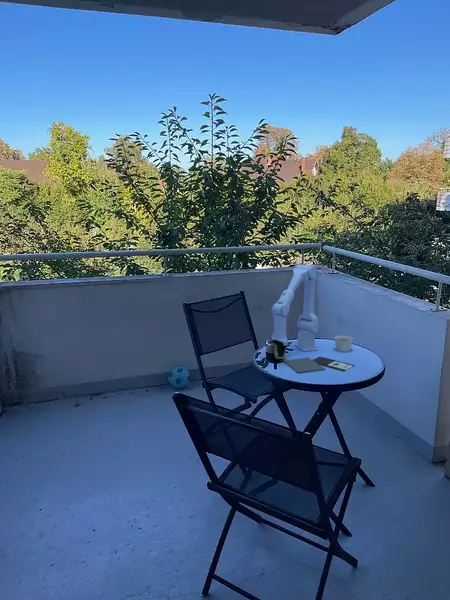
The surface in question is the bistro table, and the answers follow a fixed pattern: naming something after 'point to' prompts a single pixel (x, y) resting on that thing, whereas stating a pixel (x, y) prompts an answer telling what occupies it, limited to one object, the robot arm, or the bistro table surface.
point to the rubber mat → (303, 365)
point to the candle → (343, 343)
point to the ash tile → (277, 353)
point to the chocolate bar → (333, 364)
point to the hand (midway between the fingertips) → (280, 355)
